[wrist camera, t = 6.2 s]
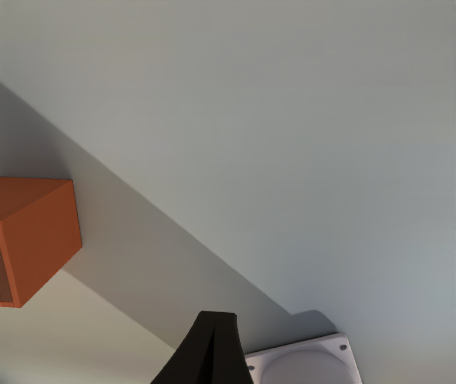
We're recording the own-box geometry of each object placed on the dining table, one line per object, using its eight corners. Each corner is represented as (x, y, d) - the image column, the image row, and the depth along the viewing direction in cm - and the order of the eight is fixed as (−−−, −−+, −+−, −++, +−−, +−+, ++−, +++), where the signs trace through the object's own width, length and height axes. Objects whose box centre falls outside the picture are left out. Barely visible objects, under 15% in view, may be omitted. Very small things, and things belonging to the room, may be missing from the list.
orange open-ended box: (82, 247, 23) (15, 243, 24) (72, 179, 22) (-1, 176, 22) (20, 308, 17) (-69, 302, 17) (0, 220, 15) (-100, 215, 16)
